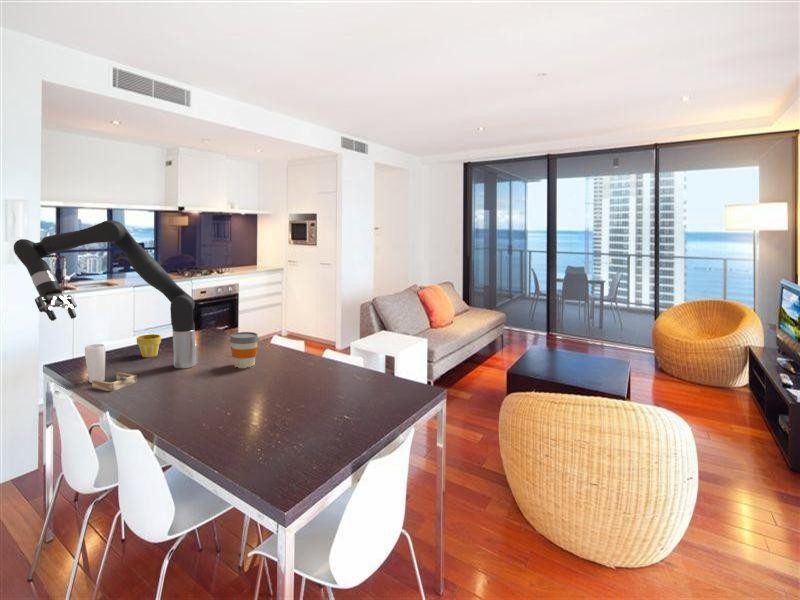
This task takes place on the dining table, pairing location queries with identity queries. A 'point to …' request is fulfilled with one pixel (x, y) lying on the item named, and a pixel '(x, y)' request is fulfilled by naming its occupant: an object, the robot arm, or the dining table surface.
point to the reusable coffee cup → (244, 348)
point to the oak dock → (122, 382)
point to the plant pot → (149, 344)
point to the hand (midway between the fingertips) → (64, 318)
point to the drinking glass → (95, 361)
